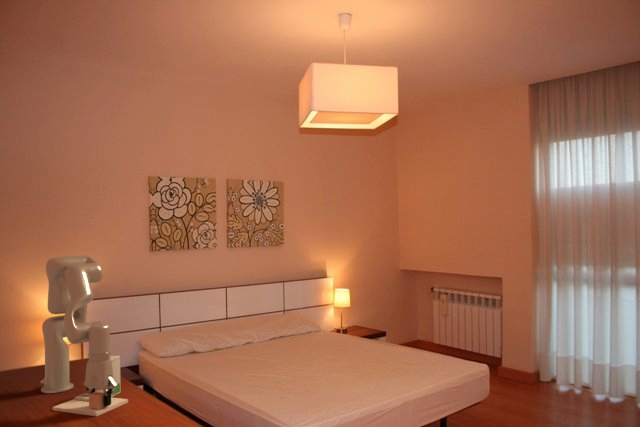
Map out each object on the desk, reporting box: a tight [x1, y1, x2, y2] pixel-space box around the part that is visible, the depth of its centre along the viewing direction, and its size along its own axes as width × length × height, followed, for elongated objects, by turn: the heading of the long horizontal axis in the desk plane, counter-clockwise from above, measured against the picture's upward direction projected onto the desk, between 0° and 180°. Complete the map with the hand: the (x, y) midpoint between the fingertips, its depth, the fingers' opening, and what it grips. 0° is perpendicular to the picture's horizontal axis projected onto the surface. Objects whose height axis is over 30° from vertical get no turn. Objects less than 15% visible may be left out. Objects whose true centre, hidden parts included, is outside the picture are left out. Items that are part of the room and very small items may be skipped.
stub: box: [89, 390, 108, 409], centre depth 193 cm, size 5×6×5 cm
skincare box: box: [96, 355, 122, 398], centre depth 211 cm, size 8×7×16 cm
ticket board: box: [52, 392, 129, 417], centre depth 198 cm, size 22×16×2 cm
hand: (100, 404), depth 193 cm, fingers open, 6 cm apart
